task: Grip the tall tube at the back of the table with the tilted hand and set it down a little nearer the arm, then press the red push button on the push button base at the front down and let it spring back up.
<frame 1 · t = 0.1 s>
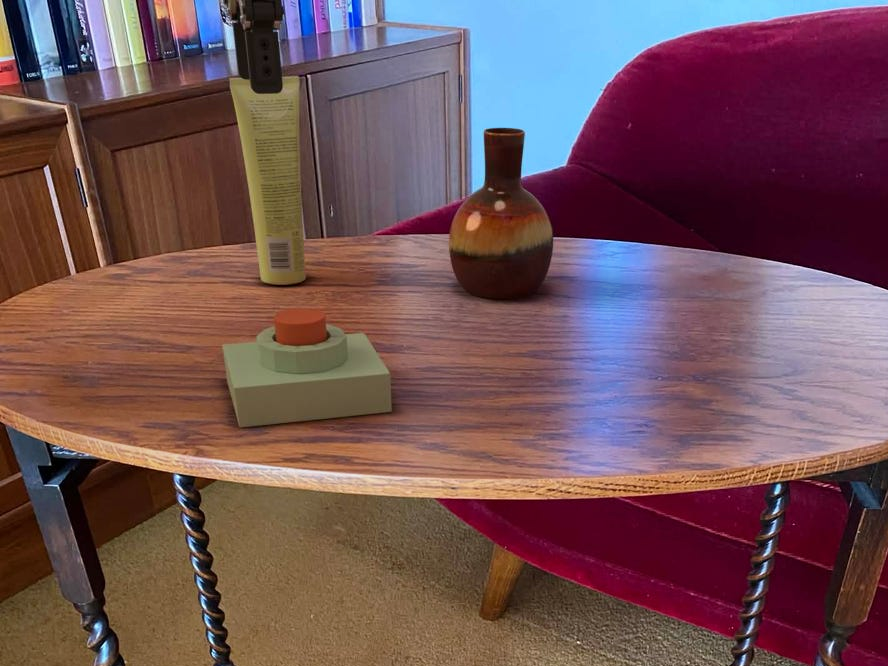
hand: (260, 85, 72), 22 cm above the table, tool pointing down, fingers open, 8 cm apart
push button base: (307, 396, 79), on the table
red push button: (300, 328, 76), point 6 cm above the table, slide at 0.1 cm
tube: (285, 282, 106), on the table
vase: (499, 291, 105), on the table
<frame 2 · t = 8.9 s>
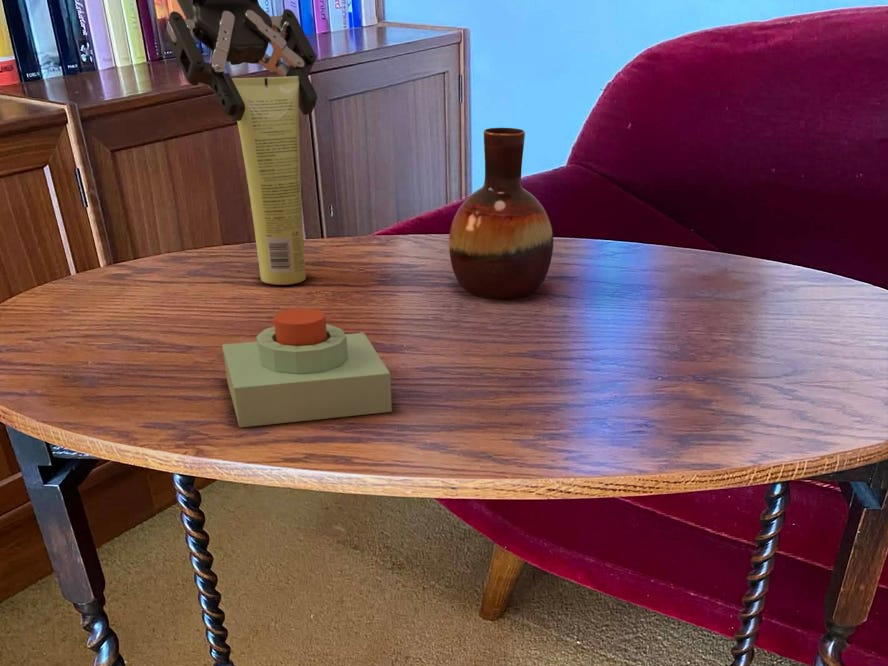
hand: (276, 112, 96), 17 cm above the table, tool tilted 45°, fingers closed on tube, 7 cm apart
tube: (285, 282, 106), on the table, touching gripper
everything else where it was.
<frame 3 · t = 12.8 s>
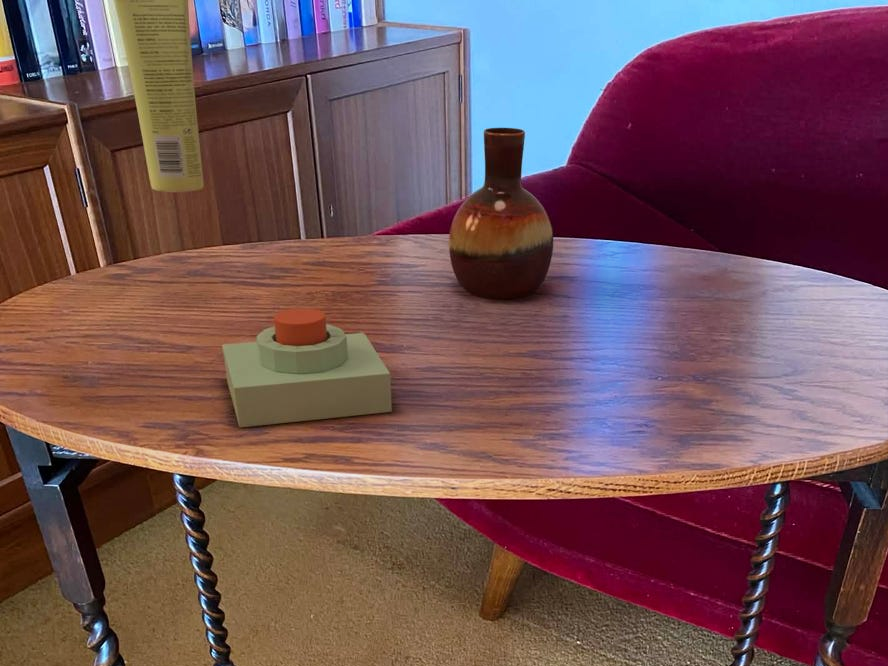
tube: (180, 191, 93), point 11 cm above the table, touching gripper
everything else where it was.
when the fingers open (17 cm above the table, at t = 16.6 s): tube stays where it is, on the table.
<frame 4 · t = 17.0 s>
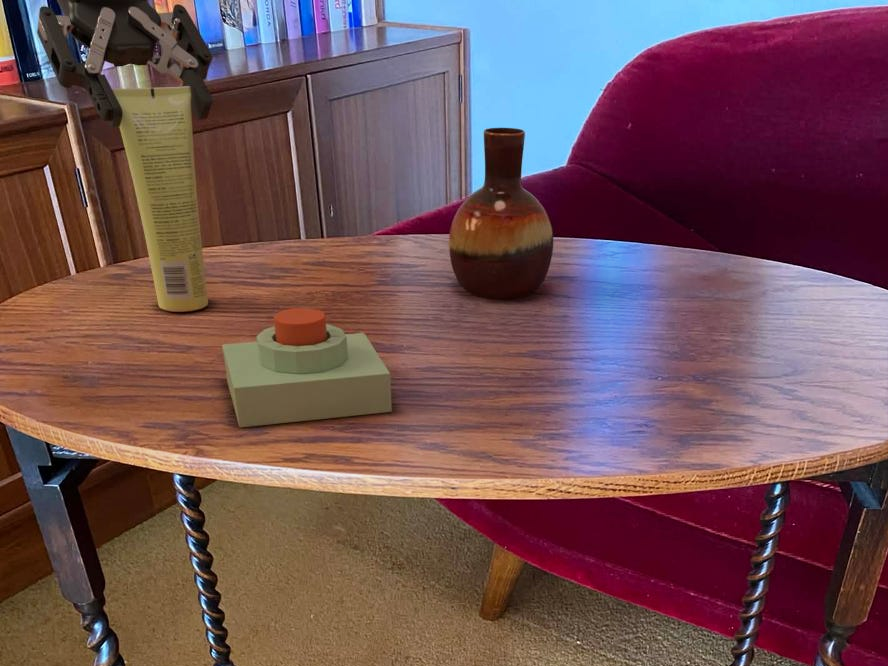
hand: (162, 117, 87), 17 cm above the table, tool tilted 45°, fingers open, 8 cm apart
tube: (186, 308, 98), on the table
everything else where it was.
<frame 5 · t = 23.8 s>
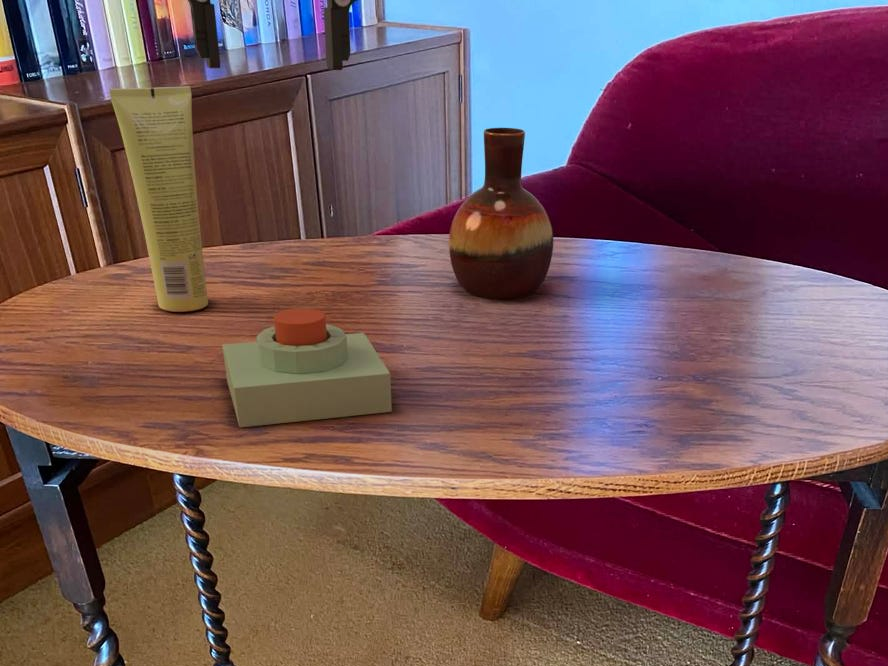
hand: (275, 68, 68), 23 cm above the table, tool pointing down, fingers open, 8 cm apart
nothing on the table moved.
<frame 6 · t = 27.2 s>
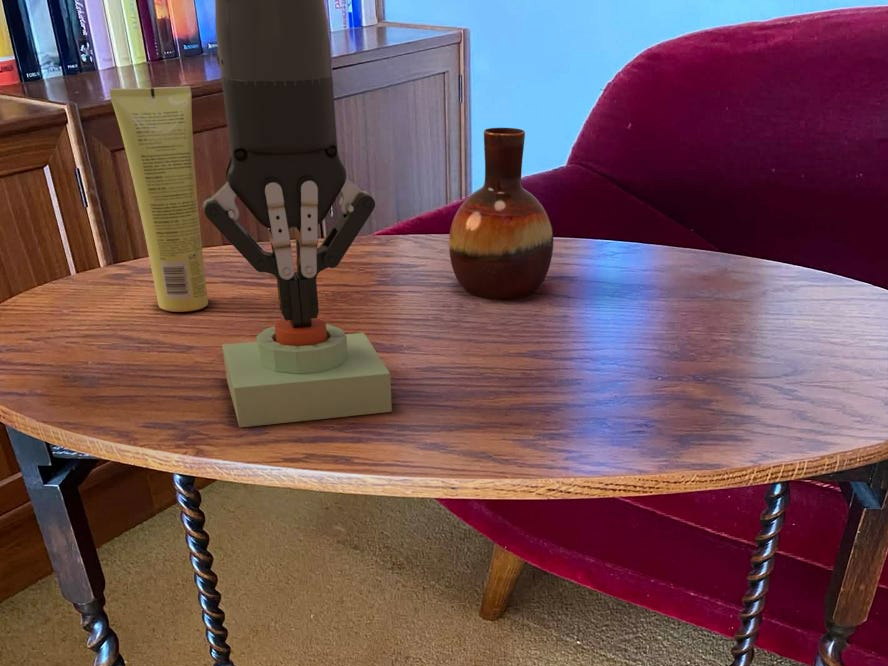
hand: (301, 323, 76), 6 cm above the table, tool pointing down, fingers closed
red push button: (301, 337, 76), point 5 cm above the table, slide at -0.6 cm, touching gripper
everything else where it was.
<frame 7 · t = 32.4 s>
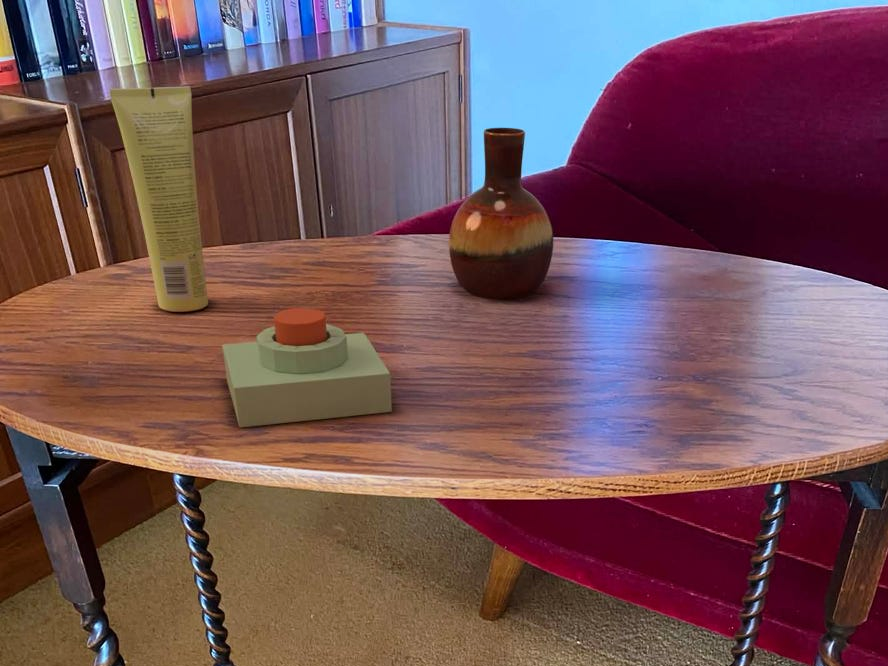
red push button: (300, 328, 76), point 6 cm above the table, slide at 0.1 cm
everything else where it was.
at the end: tube inside the target area (0.1 cm from its centre), on the table; red push button pushed in 1.1 cm at the most during the clip, back to where it started at the end; red push button slide at 0.1 cm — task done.
